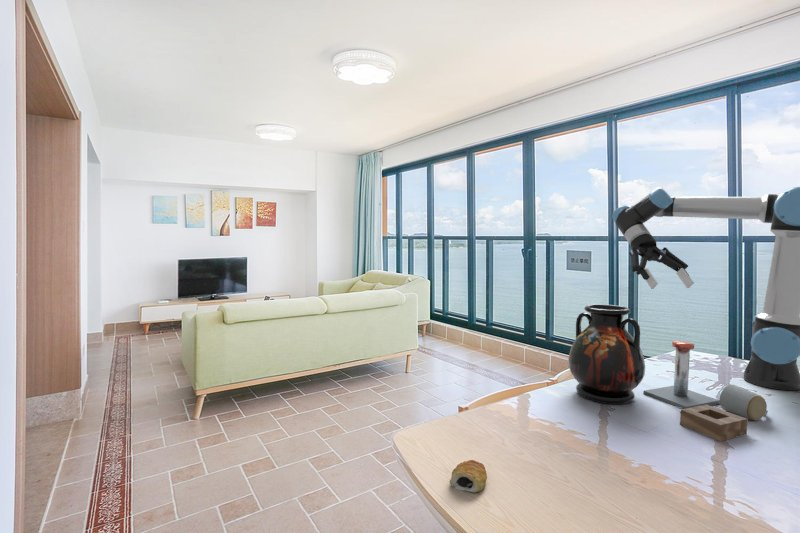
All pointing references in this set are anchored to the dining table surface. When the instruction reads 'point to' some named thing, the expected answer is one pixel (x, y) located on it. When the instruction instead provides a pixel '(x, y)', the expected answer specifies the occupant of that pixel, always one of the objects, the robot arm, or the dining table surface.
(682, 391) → the red-capped mushroom
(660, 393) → the mat
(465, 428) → the dining table surface
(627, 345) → the amphora vase
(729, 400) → the ceramic mug
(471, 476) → the pastry
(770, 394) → the dining table surface
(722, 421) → the eye block
